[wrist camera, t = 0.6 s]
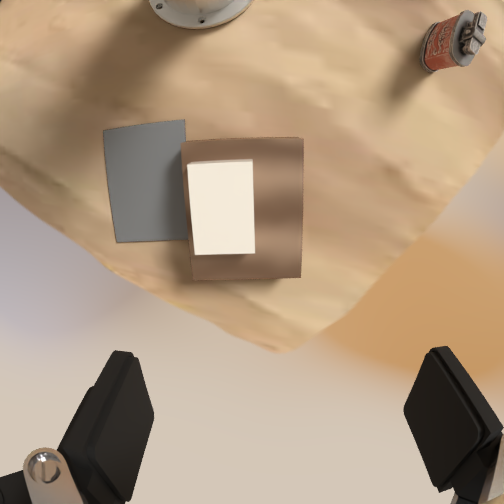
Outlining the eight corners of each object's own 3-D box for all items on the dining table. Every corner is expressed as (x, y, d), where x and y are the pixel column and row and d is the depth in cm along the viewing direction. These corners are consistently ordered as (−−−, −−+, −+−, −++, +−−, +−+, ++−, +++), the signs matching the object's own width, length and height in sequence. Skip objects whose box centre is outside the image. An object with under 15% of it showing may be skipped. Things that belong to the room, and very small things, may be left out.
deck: (188, 141, 33) (180, 143, 29) (297, 137, 32) (303, 138, 29) (198, 265, 38) (193, 280, 35) (296, 262, 38) (300, 277, 35)
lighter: (435, 77, 29) (484, 71, 20) (414, 62, 28) (461, 49, 19) (451, 33, 26) (497, 19, 17) (431, 18, 25) (475, -2, 16)
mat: (104, 130, 32) (103, 130, 32) (184, 119, 32) (184, 119, 31) (117, 241, 37) (116, 242, 37) (193, 238, 37) (192, 239, 37)
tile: (191, 162, 30) (187, 164, 28) (252, 159, 30) (252, 161, 28) (198, 246, 33) (194, 254, 31) (254, 245, 33) (255, 253, 31)
